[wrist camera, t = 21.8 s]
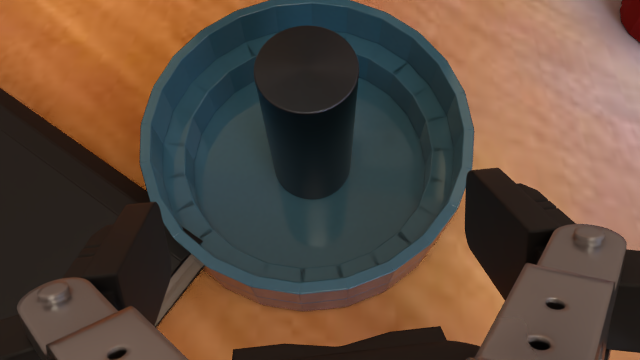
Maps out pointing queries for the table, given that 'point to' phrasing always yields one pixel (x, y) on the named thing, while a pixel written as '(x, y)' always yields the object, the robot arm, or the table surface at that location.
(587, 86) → the table surface
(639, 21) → the plastic cup
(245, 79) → the bowl
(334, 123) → the black cylinder
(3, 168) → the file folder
